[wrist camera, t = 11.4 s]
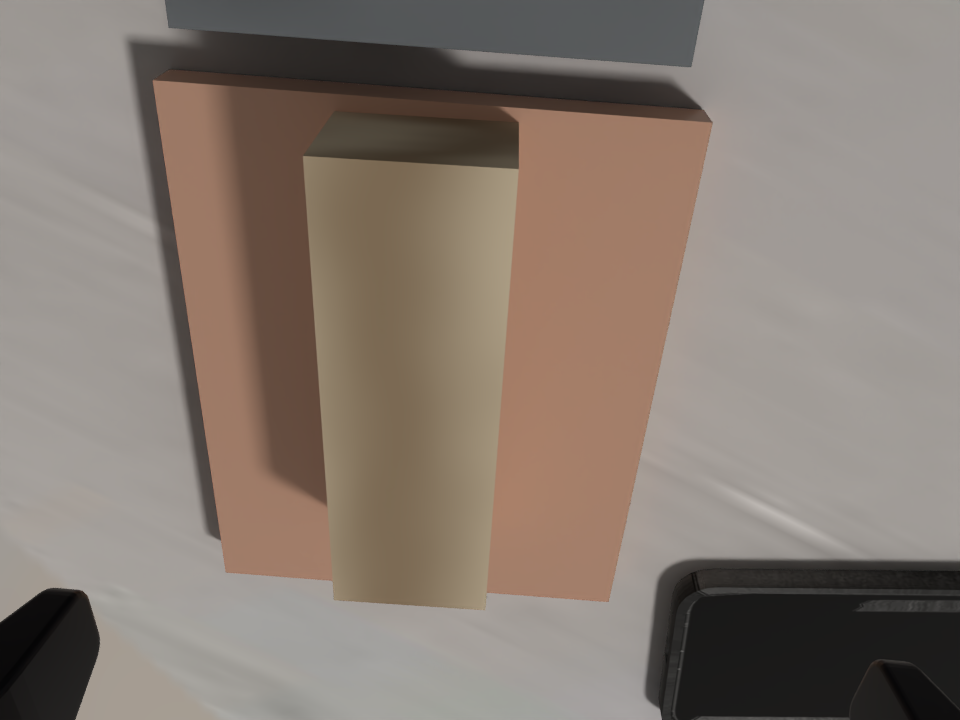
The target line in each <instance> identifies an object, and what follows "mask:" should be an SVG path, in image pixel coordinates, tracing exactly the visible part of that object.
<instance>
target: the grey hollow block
mask: <svg viewBox="0 0 960 720" xmlns="http://www.w3.org/2000/svg"><path fill="white" fill-rule="evenodd" d="M165 4H166V11H167V19H168V26H169V28H179V29H192V30H205V31H218V32H231V33H245V34H258V35H271V36H284V37H297V38H311V39H324V40H337V41H350V42H364V43H377V44H390V45H403V46H416V47H430V48H443V49H456V50H469V51H482V52H496V53H509V54H522V55H535V56H548V57H562V58H575V59H588V60H601V61H615V62H628V63H641V64H654V65H667V66H681V67H691V66H692V61H693V55H694V50H695V45H696V40H697V35H698V30H699V25H700V20H701V15H702V9H703V4H704V0H165Z"/></svg>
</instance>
